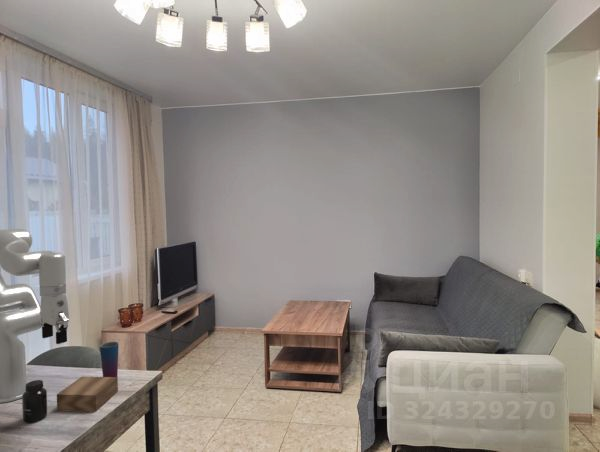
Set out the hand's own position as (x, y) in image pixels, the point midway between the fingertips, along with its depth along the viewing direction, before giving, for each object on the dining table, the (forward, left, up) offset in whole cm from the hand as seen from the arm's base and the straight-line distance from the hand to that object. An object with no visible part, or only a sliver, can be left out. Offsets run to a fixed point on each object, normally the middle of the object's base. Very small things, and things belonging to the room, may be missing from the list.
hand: (54, 339), depth 130 cm
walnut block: (+6, +9, -26) cm, 28 cm away
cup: (+5, +25, -26) cm, 36 cm away
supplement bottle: (-5, -3, -26) cm, 26 cm away
